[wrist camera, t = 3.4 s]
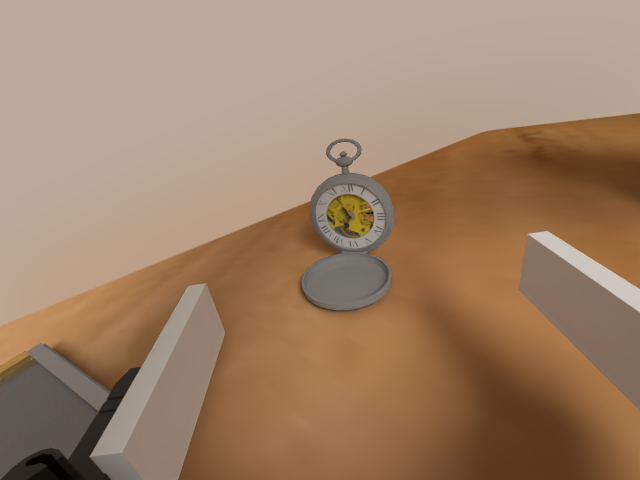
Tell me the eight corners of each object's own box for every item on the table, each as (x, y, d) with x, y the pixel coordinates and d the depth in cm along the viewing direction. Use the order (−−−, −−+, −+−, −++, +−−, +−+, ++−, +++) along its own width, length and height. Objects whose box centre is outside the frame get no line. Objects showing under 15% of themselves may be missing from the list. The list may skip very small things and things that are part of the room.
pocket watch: (316, 328, 20) (284, 177, 16) (291, 265, 28) (264, 150, 23) (430, 291, 22) (430, 143, 17) (377, 241, 29) (367, 128, 24)
